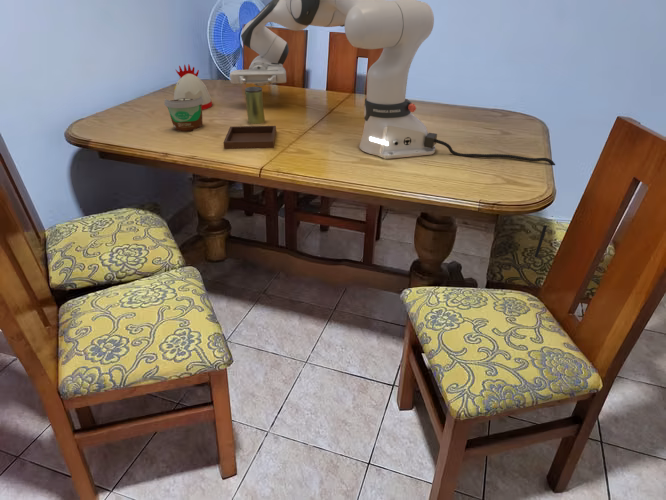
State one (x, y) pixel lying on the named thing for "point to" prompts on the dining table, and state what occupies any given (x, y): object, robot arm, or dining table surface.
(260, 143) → the tray
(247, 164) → the dining table surface
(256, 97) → the tin canister
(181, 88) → the kitchen timer
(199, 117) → the food container
